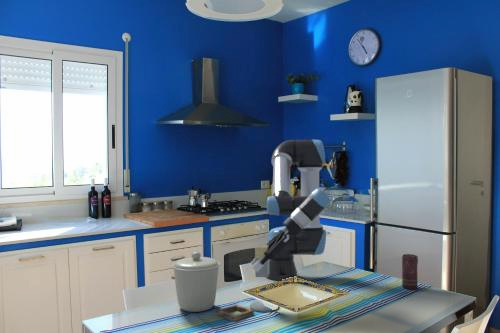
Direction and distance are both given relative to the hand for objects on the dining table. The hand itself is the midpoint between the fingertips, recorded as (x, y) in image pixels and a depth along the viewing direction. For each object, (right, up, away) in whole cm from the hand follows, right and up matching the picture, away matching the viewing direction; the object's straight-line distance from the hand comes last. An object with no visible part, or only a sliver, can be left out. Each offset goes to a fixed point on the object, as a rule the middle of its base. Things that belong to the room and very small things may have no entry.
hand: (253, 267), depth 165 cm
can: (+67, -14, +23) cm, 72 cm away
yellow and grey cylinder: (+3, -3, 0) cm, 5 cm away
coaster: (+4, -15, 0) cm, 16 cm away
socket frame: (-7, -15, -7) cm, 18 cm away
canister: (-21, -15, +1) cm, 27 cm away
